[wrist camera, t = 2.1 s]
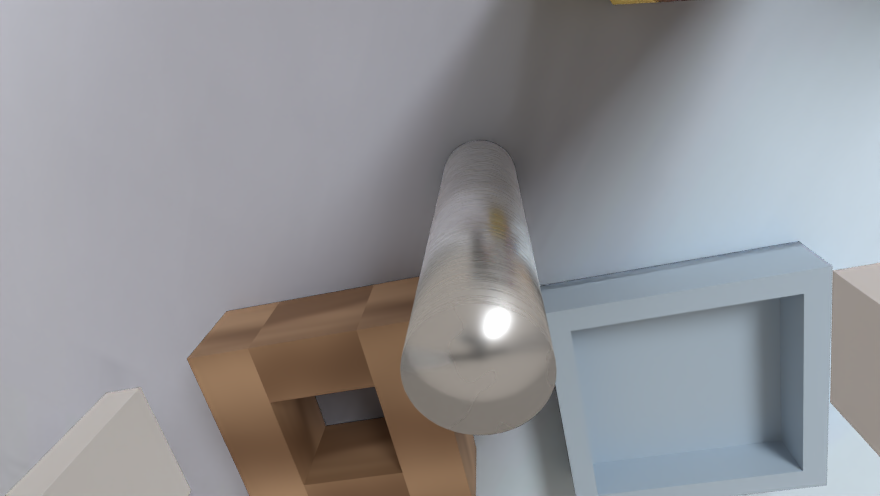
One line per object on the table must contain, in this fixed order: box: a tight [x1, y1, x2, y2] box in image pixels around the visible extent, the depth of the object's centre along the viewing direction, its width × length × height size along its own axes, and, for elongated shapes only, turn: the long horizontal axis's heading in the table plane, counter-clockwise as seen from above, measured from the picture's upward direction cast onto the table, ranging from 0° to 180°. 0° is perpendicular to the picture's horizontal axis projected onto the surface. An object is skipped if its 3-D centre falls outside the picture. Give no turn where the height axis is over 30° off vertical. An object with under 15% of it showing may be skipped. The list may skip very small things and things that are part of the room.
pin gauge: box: [400, 140, 557, 435], centre depth 18 cm, size 3×3×14 cm
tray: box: [540, 241, 832, 496], centre depth 26 cm, size 11×11×2 cm
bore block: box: [187, 277, 476, 496], centre depth 27 cm, size 10×10×4 cm
